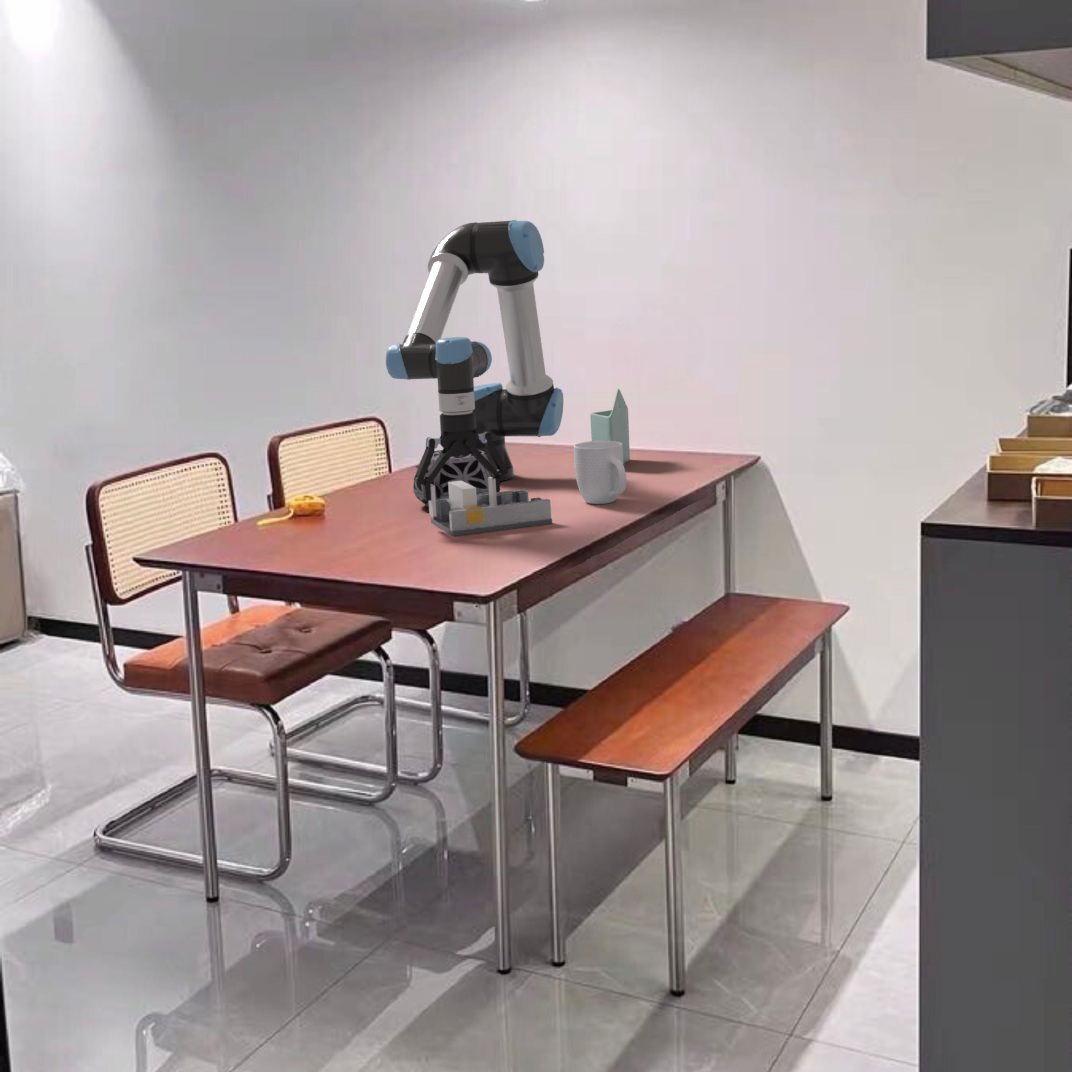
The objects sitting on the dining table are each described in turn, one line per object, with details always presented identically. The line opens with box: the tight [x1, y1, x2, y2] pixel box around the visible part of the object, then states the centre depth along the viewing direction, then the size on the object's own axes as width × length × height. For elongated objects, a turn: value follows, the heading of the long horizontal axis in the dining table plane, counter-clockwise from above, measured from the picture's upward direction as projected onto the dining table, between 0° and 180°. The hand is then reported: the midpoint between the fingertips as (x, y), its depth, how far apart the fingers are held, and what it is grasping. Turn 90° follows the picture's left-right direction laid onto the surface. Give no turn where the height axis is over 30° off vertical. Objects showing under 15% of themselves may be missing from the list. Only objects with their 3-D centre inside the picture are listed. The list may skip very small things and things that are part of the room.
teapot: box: [412, 449, 492, 508], centre depth 335 cm, size 19×31×15 cm, turn 153°
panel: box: [448, 481, 477, 511], centre depth 313 cm, size 10×3×8 cm, turn 21°
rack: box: [430, 488, 553, 537], centre depth 315 cm, size 16×22×5 cm
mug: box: [573, 440, 627, 505], centre depth 330 cm, size 15×11×13 cm
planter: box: [589, 388, 631, 465], centre depth 377 cm, size 16×8×20 cm, turn 162°
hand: (463, 511), depth 313 cm, fingers open, 13 cm apart
